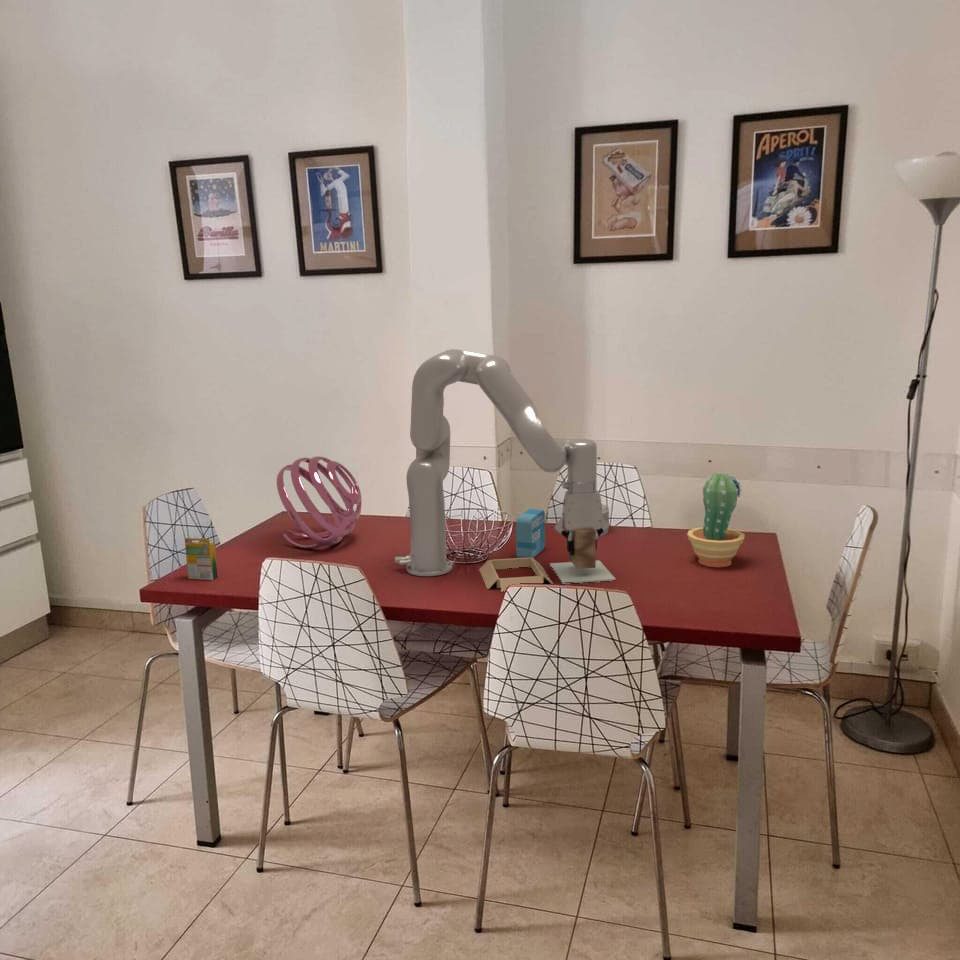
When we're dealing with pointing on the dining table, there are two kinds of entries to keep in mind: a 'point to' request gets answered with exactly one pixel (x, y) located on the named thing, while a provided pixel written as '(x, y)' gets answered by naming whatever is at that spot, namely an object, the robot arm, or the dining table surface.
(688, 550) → the dining table surface
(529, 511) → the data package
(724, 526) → the potted cactus
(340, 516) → the spiral basket
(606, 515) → the lumpy-topped squat cylinder
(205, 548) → the crayon box
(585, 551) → the walnut box
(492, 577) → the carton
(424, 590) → the dining table surface
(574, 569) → the plate
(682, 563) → the dining table surface
